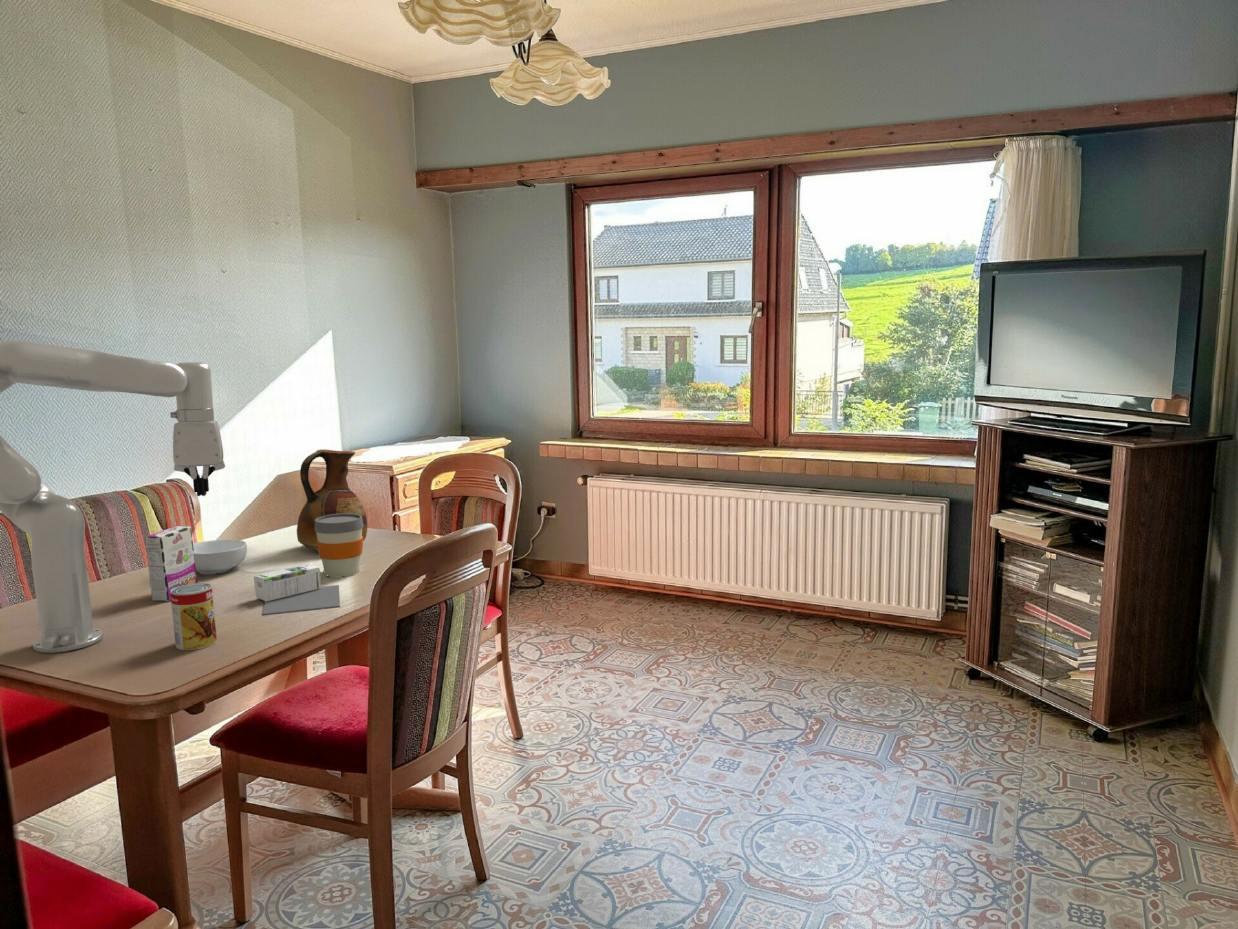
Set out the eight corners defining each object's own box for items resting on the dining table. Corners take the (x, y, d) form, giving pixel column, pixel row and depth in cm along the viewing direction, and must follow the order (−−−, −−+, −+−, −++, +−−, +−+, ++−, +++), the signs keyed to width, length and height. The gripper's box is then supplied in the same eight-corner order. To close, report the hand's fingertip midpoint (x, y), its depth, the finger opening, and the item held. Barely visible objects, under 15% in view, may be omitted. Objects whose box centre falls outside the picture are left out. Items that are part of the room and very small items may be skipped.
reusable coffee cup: (357, 579, 232) (354, 523, 229) (310, 579, 232) (306, 523, 230) (372, 566, 244) (369, 513, 242) (327, 566, 244) (324, 513, 242)
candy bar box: (181, 588, 226) (175, 525, 224) (198, 588, 225) (192, 526, 223) (150, 601, 215) (143, 535, 213) (168, 602, 214) (161, 536, 212)
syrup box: (253, 575, 215) (308, 562, 225) (255, 598, 216) (310, 584, 226) (263, 579, 211) (320, 566, 221) (266, 603, 212) (322, 588, 222)
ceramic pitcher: (380, 547, 264) (374, 448, 260) (316, 560, 251) (308, 456, 246) (349, 537, 279) (343, 443, 274) (287, 548, 265) (279, 450, 260)
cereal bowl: (254, 572, 240) (252, 547, 239) (187, 583, 231) (185, 556, 229) (241, 559, 254) (238, 535, 253) (177, 569, 244) (174, 544, 243)
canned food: (223, 642, 186) (218, 587, 184) (185, 653, 180) (180, 596, 178) (206, 634, 191) (201, 581, 189) (169, 644, 185) (163, 589, 183)
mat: (339, 606, 209) (339, 605, 209) (262, 615, 203) (262, 613, 203) (338, 586, 226) (338, 584, 225) (267, 593, 220) (267, 592, 220)
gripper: (156, 418, 197) (163, 499, 200) (229, 416, 201) (234, 496, 204) (163, 416, 204) (169, 494, 207) (233, 414, 208) (238, 490, 211)
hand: (201, 494), depth 205 cm, fingers closed
